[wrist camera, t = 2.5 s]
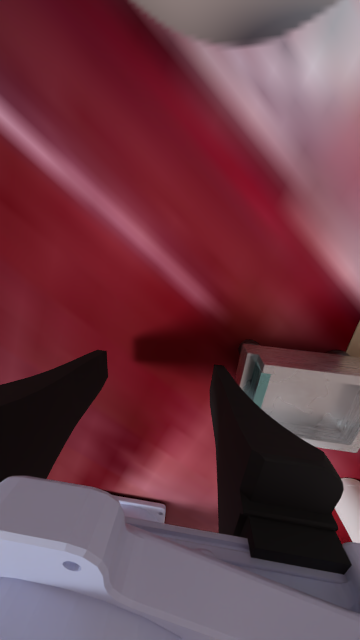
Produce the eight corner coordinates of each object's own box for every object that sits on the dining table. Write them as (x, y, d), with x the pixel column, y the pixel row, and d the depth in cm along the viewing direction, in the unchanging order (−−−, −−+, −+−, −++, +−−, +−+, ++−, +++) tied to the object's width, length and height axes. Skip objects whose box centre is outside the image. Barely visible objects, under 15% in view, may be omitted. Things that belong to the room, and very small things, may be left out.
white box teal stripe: (319, 406, 14) (356, 452, 11) (226, 393, 14) (234, 434, 11) (345, 347, 12) (399, 381, 9) (238, 334, 13) (252, 362, 9)
